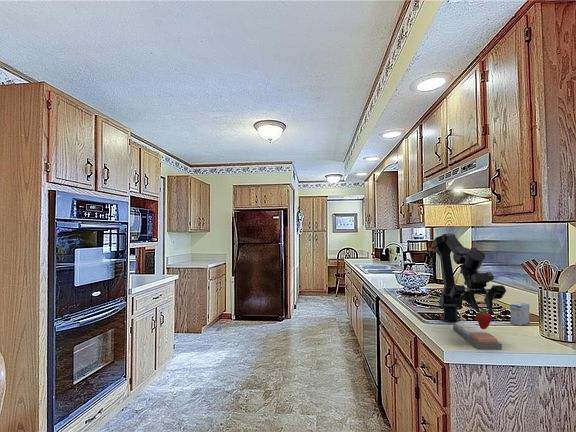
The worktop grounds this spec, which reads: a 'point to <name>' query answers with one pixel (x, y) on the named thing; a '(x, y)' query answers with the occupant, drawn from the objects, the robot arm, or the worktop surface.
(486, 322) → the fruit
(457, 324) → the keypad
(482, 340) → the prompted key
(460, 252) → the robot arm
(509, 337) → the worktop surface
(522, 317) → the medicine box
